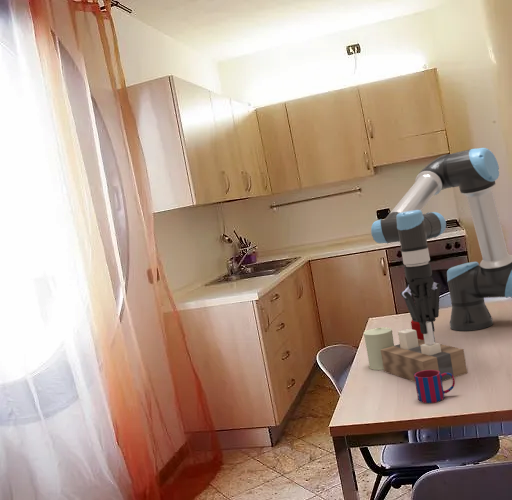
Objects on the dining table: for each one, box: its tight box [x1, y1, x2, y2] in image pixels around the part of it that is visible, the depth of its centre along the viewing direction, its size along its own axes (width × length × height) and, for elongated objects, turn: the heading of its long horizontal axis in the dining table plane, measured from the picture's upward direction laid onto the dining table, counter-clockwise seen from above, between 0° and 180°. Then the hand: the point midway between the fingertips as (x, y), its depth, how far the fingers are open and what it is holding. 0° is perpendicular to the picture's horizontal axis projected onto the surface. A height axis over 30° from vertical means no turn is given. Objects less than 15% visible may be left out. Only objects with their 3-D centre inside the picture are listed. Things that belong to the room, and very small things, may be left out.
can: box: [363, 326, 395, 371], centre depth 200 cm, size 9×9×12 cm
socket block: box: [381, 339, 468, 383], centre depth 186 cm, size 22×14×7 cm, turn 21°
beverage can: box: [410, 319, 436, 343], centre depth 207 cm, size 7×7×12 cm
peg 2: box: [420, 342, 441, 356], centre depth 181 cm, size 4×4×7 cm
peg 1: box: [397, 328, 419, 350], centre depth 191 cm, size 4×4×7 cm
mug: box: [414, 370, 456, 404], centre depth 163 cm, size 7×10×7 cm
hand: (429, 343), depth 180 cm, fingers closed
